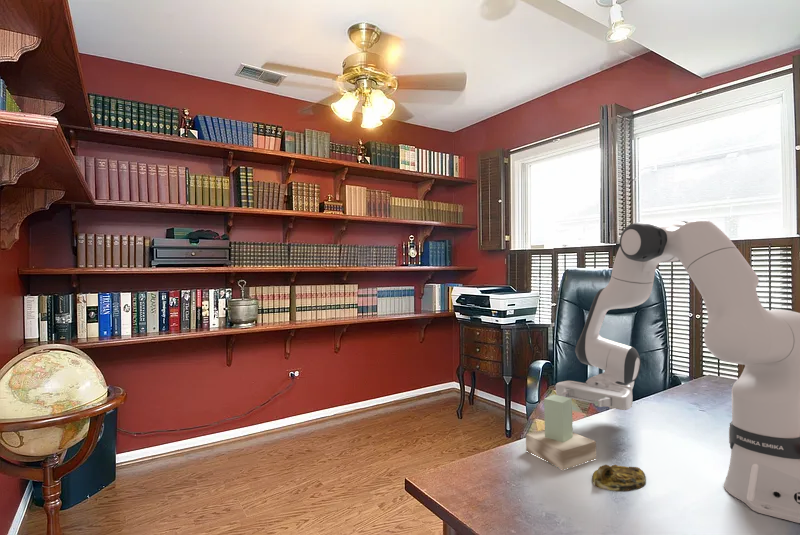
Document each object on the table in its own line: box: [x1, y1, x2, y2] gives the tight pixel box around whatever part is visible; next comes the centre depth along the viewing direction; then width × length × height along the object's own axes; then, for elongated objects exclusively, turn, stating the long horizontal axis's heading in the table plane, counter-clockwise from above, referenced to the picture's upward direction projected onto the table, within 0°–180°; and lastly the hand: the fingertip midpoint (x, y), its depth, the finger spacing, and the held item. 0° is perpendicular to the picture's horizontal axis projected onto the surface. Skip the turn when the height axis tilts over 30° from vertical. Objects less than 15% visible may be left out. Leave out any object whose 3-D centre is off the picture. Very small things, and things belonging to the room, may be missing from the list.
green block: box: [543, 394, 574, 442], centre depth 110 cm, size 5×5×10 cm
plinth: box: [525, 429, 597, 471], centre depth 109 cm, size 12×12×5 cm
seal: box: [591, 464, 647, 492], centre depth 97 cm, size 9×5×15 cm
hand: (579, 399), depth 117 cm, fingers open, 8 cm apart
